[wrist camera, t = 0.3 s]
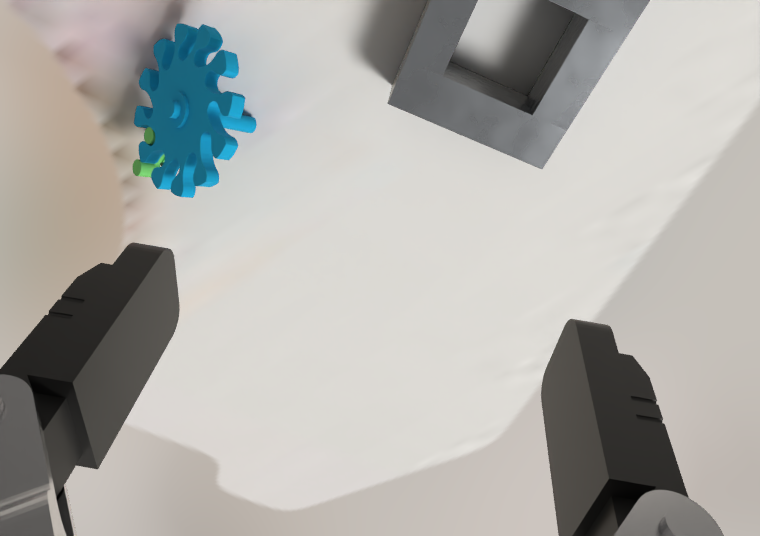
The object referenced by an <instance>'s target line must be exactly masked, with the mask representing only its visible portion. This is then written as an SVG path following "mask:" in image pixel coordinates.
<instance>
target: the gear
mask: <svg viewBox="0 0 760 536" xmlns="http://www.w3.org/2000/svg"><path fill="white" fill-rule="evenodd" d="M222 43H223V40H222V37H221V35H220V34H219V32H218V31H217V30H216V29H215V28H212V27H209V26H206V25H202V26H201V27H200V28H199V30H198V29H197V28H194V27H191V26H188V25H185V24H181V23H180V24H177V25H176V27H175V42H173V41H170V40H167V39H161V40H159V41H158V42H157V43H156V44H155V45H154V56H155V57H156V60H157V62H158V67H159V71H156V70H152V69H148V68H145V70H144V71H143V73H142V75H141V77H140V80H139V85H140V87H141V89H143V90H145V91H146V92H147V93H148V94H149V96H150V99H151V102H152V105H153V108H149V107H144V106H137V108H136V112H135V119H134V124H135V125H136V126H137V127H143V128H147V129H146V130H145V133H144V139H145V141H142V142H141V143H140V144H139V156H140V160H138V159H137V160H135V161H134V163H133V173H134V174H135V175H136V176H143V177H151V178H152V181H153V183H154V185H155V186H156V188H157V189H167V190H170V189H171V192H172V193H173V194H175V195H177V196H180V197H191V198H193V197H194V195H195V189H196V187H195V186H204V187H212V186H214V185H216V184H217V183H218V182H219V174H218V171H217V169H216V167H215V164H214V161H213V156H214V157H215V158H217V159H224V160H229V159H230V158H231V157H232V156H233V155H234V153H235V151H236V149H237V147H238V143H237V140H236V139H235V138H234V137H232V136H230V135H229V134H228V133H227V132H226V131H225V129H224V128H227V129H232V130H237V131H242V132H248V133H253V132H254V131H255V129H256V120H255V118H253V117H249V116H245V115H242V113H243V109H244V103H245V97H244V96H243V95H241V94H237V93H233V92H229V91H227V92H224V93H221V92H220V91H219V90H218V87H217V82H218V78H219V77H220V75H221V76H225V77H229V78H235V77H236V76H237V75H238V71H239V66H238V59H237V55H236V54H234V53H231V52H228V51H225V50H220V51H219V52H218V53H217V54H216V56H215V57H214V59H213V60H212V61H211V62H210V63H209V64H208V65H206V60H207V57H208V55H209V54H210V53H213V52H217V51H218V50H219V49H220V48H221V46H222ZM160 165H161V166H162V167H160ZM179 168H180V171H179V173H178V175H177V176H176V174H177V171H178V169H179ZM175 176H176V177H175Z"/></svg>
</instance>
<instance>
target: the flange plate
mask: <svg viewBox="0 0 760 536" xmlns="http://www.w3.org/2000/svg"><path fill="white" fill-rule="evenodd" d="M477 1H478V0H428V1H427V3H426V6H425V8H424V11H423V13H422V15H421V18H420V20H419V23H418V25H417V27H416V30H415V32H414V35H413V37H412V39H411V42H410V44H409V47H408V49H407V51H406V54H405V56H404V59H403V61H402V63H401V66H400V68H399V70H398V73H397V75H396V78H395V80H394V82H393V85H392V88H391V92H390V96H389V100H388V104H390V105H392V106H394V107H397V108H399V109H401V110H404V111H406V112H408V113H411V114H413V115H415V116H418V117H420V118H423V119H425V120H427V121H430V122H432V123H434V124H437V125H439V126H441V127H444V128H446V129H448V130H451V131H453V132H455V133H458V134H460V135H463V136H465V137H467V138H470V139H472V140H474V141H477V142H479V143H481V144H484V145H486V146H488V147H491V148H493V149H495V150H498V151H500V152H502V153H505V154H507V155H510V156H512V157H514V158H517V159H519V160H521V161H524V162H526V163H528V164H531V165H533V166H535V167H538V168H540V169H543V167H544V166H545V164H546V162H547V161H548V159H549V158H550V156H551V155H552V153H553V151H554V150H555V148H556V147H557V145H558V144H559V142H560V141H561V139H562V137H563V136H564V134H565V133H566V131H567V130H568V128H569V126H570V125H571V123H572V122H573V120H574V119H575V117H576V115H577V114H578V112H579V111H580V109H581V108H582V106H583V104H584V103H585V101H586V100H587V98H588V97H589V95H590V93H591V92H592V90H593V89H594V87H595V86H596V84H597V82H598V81H599V79H600V78H601V76H602V75H603V73H604V71H605V70H606V68H607V67H608V65H609V64H610V62H611V61H612V59H613V57H614V56H615V54H616V53H617V51H618V50H619V48H620V46H621V45H622V43H623V42H624V40H625V39H626V37H627V35H628V34H629V32H630V31H631V29H632V28H633V26H634V24H635V23H636V21H637V20H638V18H639V17H640V15H641V13H642V12H643V10H644V9H645V7H646V6H647V4H648V2H649V1H650V0H549V1H551V2H553V3H555V4H557V5H559V6H562V7H564V8H566V9H568V10H570V11H572V12H574V13H575V14H574V16H573V18H572V20H571V21H570V23H569V25H568V27H567V28H566V30H565V32H564V34H563V35H562V37H561V39H560V41H559V42H558V44H557V46H556V48H555V49H554V51H553V53H552V55H551V56H550V58H549V60H548V62H547V63H546V65H545V67H544V69H543V70H542V72H541V74H540V76H539V77H538V79H537V81H536V83H535V84H534V86H533V88H532V90H531V91H530V93H529V95H528V96H526V95H523V94H521V93H519V92H517V91H514V90H512V89H510V88H508V87H505V86H503V85H501V84H499V83H496V82H494V81H492V80H490V79H487V78H485V77H483V76H480V75H478V74H476V73H474V72H471V71H469V70H467V69H465V68H462V67H460V66H458V65H456V64H453V63H451V62H449V61H450V59H451V57H452V55H453V52H454V50H455V48H456V46H457V44H458V42H459V40H460V37H461V35H462V33H463V31H464V29H465V27H466V25H467V22H468V20H469V18H470V16H471V14H472V12H473V10H474V8H475V5H476V3H477Z"/></svg>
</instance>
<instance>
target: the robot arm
mask: <svg viewBox="0 0 760 536" xmlns="http://www.w3.org/2000/svg"><path fill="white" fill-rule="evenodd" d="M178 317H179V297H178V288H177V279H176V270H175V261H174V255H173V252H172V250H171V249H168V248H162V247H156V246H150V245H145V244H139V243H131V244H129V245H128V246H127V247H126V248H125V250H124V251H123V252H122V253H121V255H120V256H119V257H118V258H117V260H116V261H115V262H114V264H113V265H110V264H104V263H100V264H98V265H97V266H95V267H93V268H92V269H90V270H88V271H87V272H85V273H83V274H82V275H80V276H78V277H77V278H76V279H75V280H74V282H73V283H72V284H71V285H70V286H69V288H68V289H67V290H66V291H65V292H64V294H63V295H62V298H61V300H58V301H57V302H56V303H55V304H54V306H53V307H52V308H51V309H50V310H49V314H48V315H45V316H44V318H43V319H42V320H41V321H40V322H39V324H38V325H37V326H36V327H35V328H34V329H33V331H32V332H31V333H30V334H29V335H28V337H27V338H26V339H25V340H24V341H23V343H22V344H21V345H20V346H19V347H18V349H17V350H16V351H15V352H14V353H13V355H12V356H11V357H10V358H9V359H8V360H7V362H6V363H5V364H4V365H3V367H2V368H1V369H0V536H77V535H76V530H75V525H74V521H73V516H72V512H71V507H70V502H69V497H68V492H67V488H66V485H65V483H66V481H67V479H68V478H69V476H70V474H71V473H72V471H73V469H74V468H75V466H76V465H77V466H83V467H88V468H94V469H98V468H99V466H100V464H101V463H102V461H103V459H104V457H105V455H106V454H107V452H108V450H109V448H110V447H111V445H112V443H113V441H114V439H115V438H116V436H117V434H118V432H119V431H120V429H121V427H122V425H123V423H124V422H125V420H126V418H127V416H128V415H129V413H130V411H131V409H132V407H133V406H134V404H135V402H136V400H137V398H138V397H139V395H140V393H141V391H142V390H143V388H144V386H145V384H146V382H147V381H148V379H149V377H150V375H151V373H152V372H153V370H154V368H155V366H156V365H157V363H158V361H159V359H160V357H161V356H162V354H163V352H164V350H165V349H166V347H167V345H168V343H169V341H170V340H171V338H172V336H173V334H174V332H175V329H176V326H177V322H178ZM541 399H542V408H543V416H544V424H545V431H546V439H547V447H548V455H549V462H550V471H551V479H552V486H553V493H554V501H555V510H556V517H557V525H558V533H559V536H724V535H723V533H722V531H721V529H720V527H719V526H718V524H717V523H716V521H715V520H714V519H713V518H712V517H711V515H710V514H709V513H708V512H707V511H706V510H705V509H704V508H702V507H701V506H700V505H698V504H697V503H696V502H694V501H692V500H691V499H689V498H688V495H687V492H686V489H685V486H684V483H683V479H682V476H681V474H680V470H679V467H678V464H677V461H676V458H675V455H674V452H673V449H672V446H671V442H670V439H669V437H668V433H667V430H666V427H665V424H663V423H662V420H663V418H662V415H661V412H660V409H659V406H658V405H656V401H657V400H656V396H655V393H654V390H653V387H652V384H651V381H650V378H649V376H648V375H647V374H646V372H645V371H644V370H643V369H642V367H641V366H640V365H639V364H638V362H637V361H636V360H635V359H634V357H633V356H631V355H626V354H620V353H618V350H617V346H616V343H615V339H614V335H613V332H612V329H611V327H610V326H608V325H604V324H598V323H592V322H587V321H581V320H575V319H570V320H568V322H567V323H566V325H565V327H564V329H563V331H562V333H561V336H560V338H559V340H558V343H557V345H556V347H555V349H554V352H553V354H552V356H551V359H550V361H549V363H548V365H547V368H546V370H545V373H544V377H543V382H542V390H541Z"/></svg>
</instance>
